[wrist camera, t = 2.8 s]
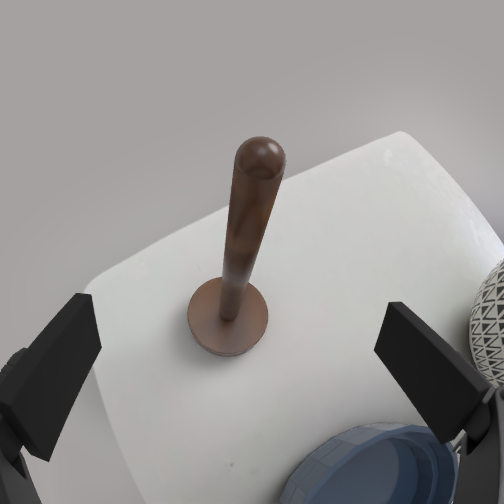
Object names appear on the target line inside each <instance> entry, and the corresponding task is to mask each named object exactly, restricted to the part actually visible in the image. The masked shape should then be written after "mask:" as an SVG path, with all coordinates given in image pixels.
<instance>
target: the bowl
mask: <svg viewBox="0 0 504 504" xmlns="http://www.w3.org/2000/svg"><path fill="white" fill-rule="evenodd" d="M452 450H453V446H452V444H451V443H450V442H448V443H446V444H443V445H441V444H440V443H439V441H438V440H437V438H436V437H435V435H434V434H433V432H432V431H431V429H430V428H429V427H425V426H418V425H407V424H391V423H376V424H370V425H364V426H358V427H355V428H353V429H351V430H349V431H346V432H344V433H342V434H340V435H337V436H335V437H333V438H331V439H330V440H328V441H327V442H326V443H325V444H323V445H322V446H321V447H319V448H318V449H317V450H315V451H314V452H312V453H311V454H310V455H309V456H307V458H306V459H305V460H304V461H303V462H302V464H301V465H300V466H299V467H298V468H297V469H296V471H295V472H294V473H293V474H292V475H291V476H290V478H289V480H288V482H287V484H286V486H285V489H284V491H283V493H282V495H281V497H280V499H279V501H278V504H451V503H452V501H453V499H454V494H455V489H456V483H457V477H458V470H459V469H458V460H457V454H456V452H452Z"/></svg>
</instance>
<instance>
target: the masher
mask: <svg viewBox="0 0 504 504" xmlns="http://www.w3.org/2000/svg"><path fill="white" fill-rule="evenodd" d="M285 166H286V157H285V153H284V151H283V149H282V147H281V146H280V145H279V144H278V143H277V142H276V141H274V140H272V139H270V138H267V137H253V138H250V139H248V140H246V141H245V142H244V143H243V144H242V145H241V146H240V147H239V149H238V150H237V153H236V156H235V162H234V170H233V178H232V187H231V196H230V204H229V214H228V223H227V232H226V242H225V252H224V262H223V273H222V277H219V278H215V279H212V280H210V281H208V282H206V283H204V284H203V285H202V286H200V287H199V288H198V289H197V290H196V292H195V293H194V295H193V296H192V298H191V300H190V303H189V307H188V322H189V326H190V329H191V331H192V334H193V336H194V338H195V339H196V341H197V342H198V343H199V344H200V345H201V346H202V347H203V348H204V349H206V350H207V351H209V352H211V353H213V354H216V355H220V356H235V355H239V354H242V353H244V352H246V351H248V350H249V349H251V348H252V347H253V346H254V345H255V344H256V343H257V342H258V341H259V340H260V338H261V337H262V336H263V334H264V332H265V329H266V327H267V323H268V310H267V305H266V302H265V300H264V298H263V296H262V295H261V293H260V292H259V291H258V290H257V289H256V288H255V287H254V286H253V285H251V284H250V283H248V282H249V279H250V276H251V272H252V269H253V266H254V263H255V260H256V257H257V254H258V251H259V248H260V245H261V242H262V239H263V236H264V233H265V229H266V226H267V223H268V220H269V217H270V214H271V211H272V208H273V205H274V202H275V198H276V195H277V192H278V189H279V186H280V183H281V180H282V176H283V174H284V170H285Z"/></svg>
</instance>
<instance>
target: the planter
mask: <svg viewBox="0 0 504 504" xmlns="http://www.w3.org/2000/svg"><path fill="white" fill-rule="evenodd" d="M469 341H470V348H471V353H472V357H473V360H474V362H475V365H476V367H477V369H478V371H479V372H480V373H481V374H482V375H483V376H484V377H485V378H486V379H487V380H488V381H489V382H490V383H491V384H492V385H493V386H494V387H495V388H497V387H499V386H504V259H502V260H501V261H500V262H499V263H498V264H497V266H496V267H495V268H494V269H493V270H492V271H491V273H490V274H489V275H488V276H487V278H486V279H485V281H484V282H483V284H482V285H481V287H480V289H479V291H478V293H477V296H476V298H475V301H474V304H473V308H472V312H471V318H470V326H469Z"/></svg>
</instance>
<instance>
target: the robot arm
mask: <svg viewBox="0 0 504 504" xmlns="http://www.w3.org/2000/svg"><path fill="white" fill-rule="evenodd" d="M101 348H102V347H101V342H100V338H99V333H98V328H97V324H96V318H95V313H94V308H93V302H92V296H91V294H81V293H76V294H75V295H74V296H73V297H72V298H71V299H70V300H69V301H68V302H67V304H66V305H65V306H64V307H63V308H62V309H61V310H60V311H59V312H58V313H57V315H56V316H55V317H54V318H53V319H52V320H51V321H50V322H49V324H48V325H47V326H46V327H45V328H44V330H43V331H42V332H41V333H40V334H39V335H38V337H37V338H36V339H35V340H34V341H33V343H32V344H31V345H30V346H29V347H28V349H27V348H22V349H21V350H20V351H18V352H16V353H15V354H13V356H12V357H11V358H10V359H9V361H8V362H7V365H5V366H4V367H3V368H2V369H1V372H0V504H42V503H41V501H40V499H39V496H38V494H37V492H36V489H35V487H34V484H33V482H32V479H31V477H30V474H29V471H28V468H27V465H26V462H25V459H24V457H23V455H22V453H21V452H20V450H21V448H22V446H23V445H24V447H25V448H26V449H27V451H28V452H29V453H30V454H31V455H33V456H35V457H38V458H40V459H42V460H45V461H47V462H49V461H50V458H51V455H52V453H53V450H54V448H55V445H56V443H57V440H58V438H59V436H60V433H61V431H62V429H63V426H64V424H65V422H66V419H67V417H68V415H69V413H70V411H71V408H72V406H73V404H74V402H75V399H76V398H77V396H78V393H79V391H80V389H81V387H82V385H83V383H84V381H85V379H86V377H87V375H88V373H89V371H90V369H91V367H92V365H93V363H94V361H95V360H96V358H97V356H98V354H99V352H100V350H101ZM374 351H375V353H376V354H377V355H378V357H379V358H380V359H381V361H382V362H383V364H384V365H385V366H386V368H387V369H388V370H389V372H390V373H391V374H392V376H393V377H394V379H395V380H396V381H397V383H398V384H399V385H400V387H401V388H402V390H403V391H404V392H405V394H406V395H407V397H408V398H409V399H410V401H411V402H412V404H413V405H414V406H415V408H416V409H417V411H418V412H419V414H420V415H421V416H422V418H423V419H424V421H425V422H426V424H427V425H428V427H429V428H430V429H431V431H432V432H433V434H434V435H435V437H436V438H437V440H438V441H439V443H440V444H441V445H443V444H446V443H448V442H450V441H452V440H454V439H455V438H456V437H457V435H458V434H459V433H460V431H461V430H462V429H464V431H465V432H466V433H465V434H464V436H463V437H462V438H461V439H460V441H459V442H458V443H457V444H456V445H455V447H454V448H453V450H452V452H455V451H456V450H457V448H458V447H459V446H461V448H460V449H459V451H458V452H457V453H459V454H460V462H459V470H458V477H457V483H456V489H455V494H454V499H453V504H504V386H499V387H497V388H495V387H494V386H493V385H492V384H491V383H490V382H489V381H488V380H487V379H486V378H485V377H484V376H483V375H482V374H481V373H480V372H479V371H478V370H477V369H475V368H474V366H473V365H472V364H471V363H469V361H468V360H467V359H466V358H465V357H464V356H463V355H462V354H460V353H458V352H456V351H455V350H454V349H453V348H452V347H451V346H450V345H449V344H448V343H447V342H446V341H444V340H443V339H442V338H441V337H440V336H439V335H438V334H437V333H436V332H435V331H434V330H433V329H431V328H430V327H429V326H428V325H427V324H426V323H425V322H424V321H423V320H422V319H420V318H419V317H418V316H417V315H416V314H415V313H414V312H413V311H411V310H410V309H409V308H408V307H407V306H406V305H405V304H403V303H402V302H389V303H388V307H387V310H386V314H385V317H384V320H383V324H382V327H381V330H380V333H379V336H378V339H377V342H376V345H375V348H374Z"/></svg>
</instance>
